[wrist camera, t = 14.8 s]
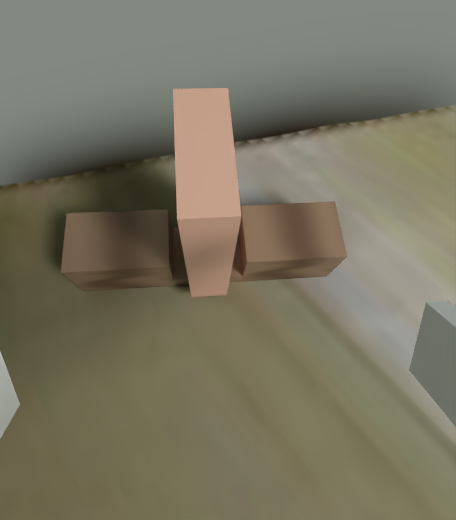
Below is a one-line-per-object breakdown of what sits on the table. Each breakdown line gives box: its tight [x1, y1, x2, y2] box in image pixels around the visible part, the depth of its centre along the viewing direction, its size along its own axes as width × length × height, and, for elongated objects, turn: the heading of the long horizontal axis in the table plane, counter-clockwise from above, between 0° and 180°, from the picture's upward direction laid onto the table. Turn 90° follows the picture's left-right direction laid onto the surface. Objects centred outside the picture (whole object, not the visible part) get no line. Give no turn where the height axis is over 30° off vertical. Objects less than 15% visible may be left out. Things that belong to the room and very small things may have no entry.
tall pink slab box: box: [173, 88, 241, 297], centre depth 24 cm, size 3×8×14 cm, turn 5°
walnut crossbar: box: [61, 202, 347, 291], centre depth 29 cm, size 22×5×5 cm, turn 95°
